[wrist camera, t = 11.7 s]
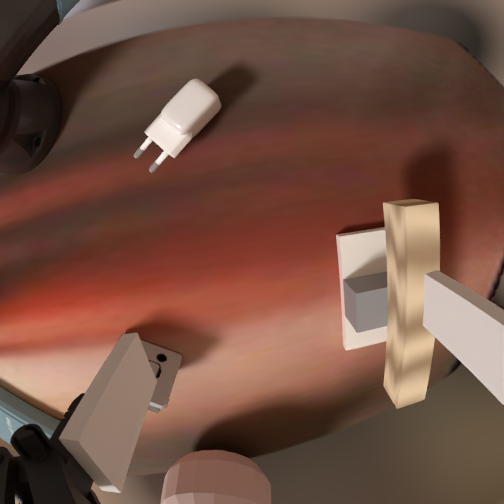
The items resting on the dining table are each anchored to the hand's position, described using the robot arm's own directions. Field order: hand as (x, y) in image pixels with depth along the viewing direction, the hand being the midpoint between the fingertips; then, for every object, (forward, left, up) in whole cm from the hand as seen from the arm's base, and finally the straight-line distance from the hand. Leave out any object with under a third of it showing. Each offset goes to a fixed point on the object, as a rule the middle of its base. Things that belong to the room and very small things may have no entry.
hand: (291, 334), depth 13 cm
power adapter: (-14, -8, -26) cm, 30 cm away
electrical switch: (+15, -19, -26) cm, 35 cm away
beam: (+9, +15, -19) cm, 26 cm away
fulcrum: (+9, +15, -26) cm, 31 cm away
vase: (+40, -13, -26) cm, 49 cm away
